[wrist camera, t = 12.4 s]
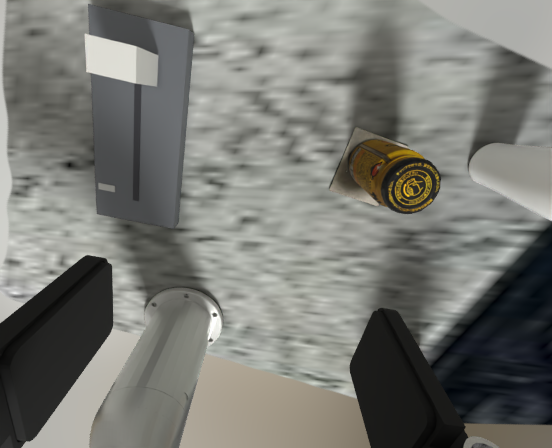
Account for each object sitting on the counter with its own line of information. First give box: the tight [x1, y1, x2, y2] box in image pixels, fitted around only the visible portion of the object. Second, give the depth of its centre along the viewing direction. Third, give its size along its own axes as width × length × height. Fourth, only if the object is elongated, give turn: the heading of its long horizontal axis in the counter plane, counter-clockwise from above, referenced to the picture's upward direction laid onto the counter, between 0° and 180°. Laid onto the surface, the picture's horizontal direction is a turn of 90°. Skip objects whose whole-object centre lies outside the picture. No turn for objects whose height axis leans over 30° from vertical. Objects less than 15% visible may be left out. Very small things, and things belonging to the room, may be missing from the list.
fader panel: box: [88, 4, 194, 229], centre depth 33 cm, size 23×10×2 cm, turn 168°
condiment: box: [329, 127, 441, 214], centre depth 31 cm, size 7×8×12 cm
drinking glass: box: [469, 143, 552, 221], centre depth 29 cm, size 7×7×15 cm
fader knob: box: [85, 34, 158, 87], centre depth 27 cm, size 3×4×5 cm
